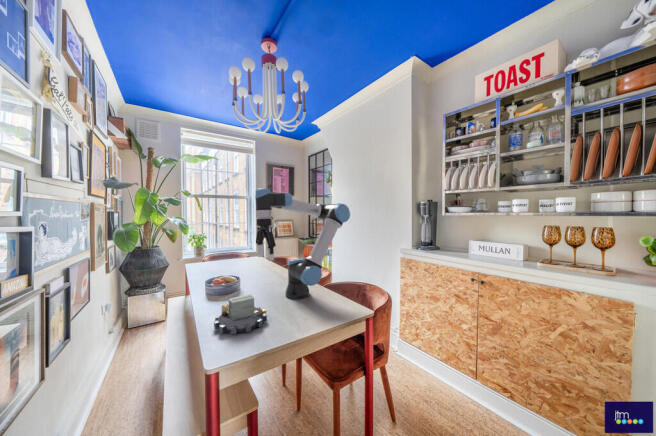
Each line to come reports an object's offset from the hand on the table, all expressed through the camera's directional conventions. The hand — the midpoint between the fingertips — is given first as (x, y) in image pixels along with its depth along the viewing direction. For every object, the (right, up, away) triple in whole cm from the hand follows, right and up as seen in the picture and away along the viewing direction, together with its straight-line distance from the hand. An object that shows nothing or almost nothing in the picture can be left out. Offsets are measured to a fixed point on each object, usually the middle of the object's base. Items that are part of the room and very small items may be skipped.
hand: (265, 258), depth 119 cm
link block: (-8, -25, -13) cm, 29 cm away
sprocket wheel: (-8, -28, -13) cm, 32 cm away
